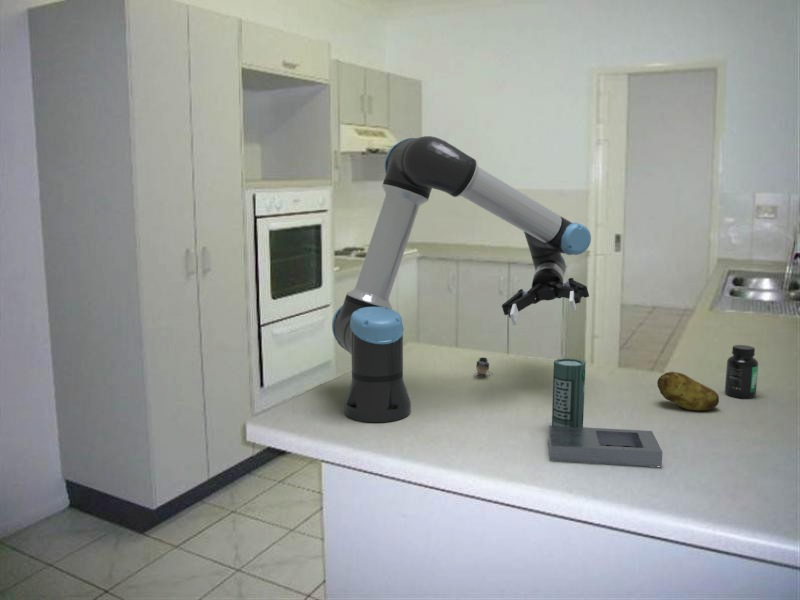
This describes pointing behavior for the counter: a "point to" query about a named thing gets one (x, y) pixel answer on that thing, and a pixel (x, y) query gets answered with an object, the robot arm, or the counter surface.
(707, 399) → the potato
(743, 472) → the counter surface
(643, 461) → the grey slab with hole
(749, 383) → the supplement bottle
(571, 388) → the can
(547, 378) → the counter surface
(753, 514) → the counter surface
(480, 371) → the vase
